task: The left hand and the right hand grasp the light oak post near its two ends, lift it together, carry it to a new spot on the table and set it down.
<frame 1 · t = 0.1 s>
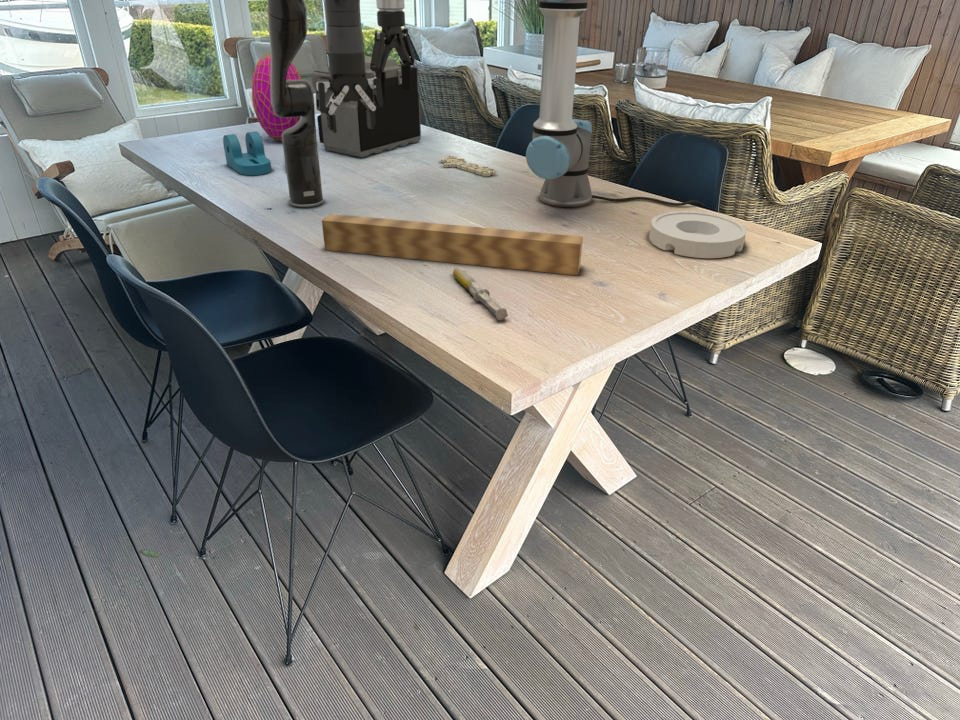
left hand: (352, 130, 150), 29 cm above the table, tool pointing down, fingers open, 8 cm apart
right hand: (394, 93, 197), 28 cm above the table, tool pointing down, fingers open, 13 cm apart
ashtray: (695, 241, 175), on the table
decorative egg: (284, 140, 265), on the table
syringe: (478, 297, 145), on the table
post: (449, 258, 163), on the table
camera mount: (251, 168, 229), on the table
decorative sign: (465, 168, 233), on the table
cooler box: (371, 146, 258), on the table
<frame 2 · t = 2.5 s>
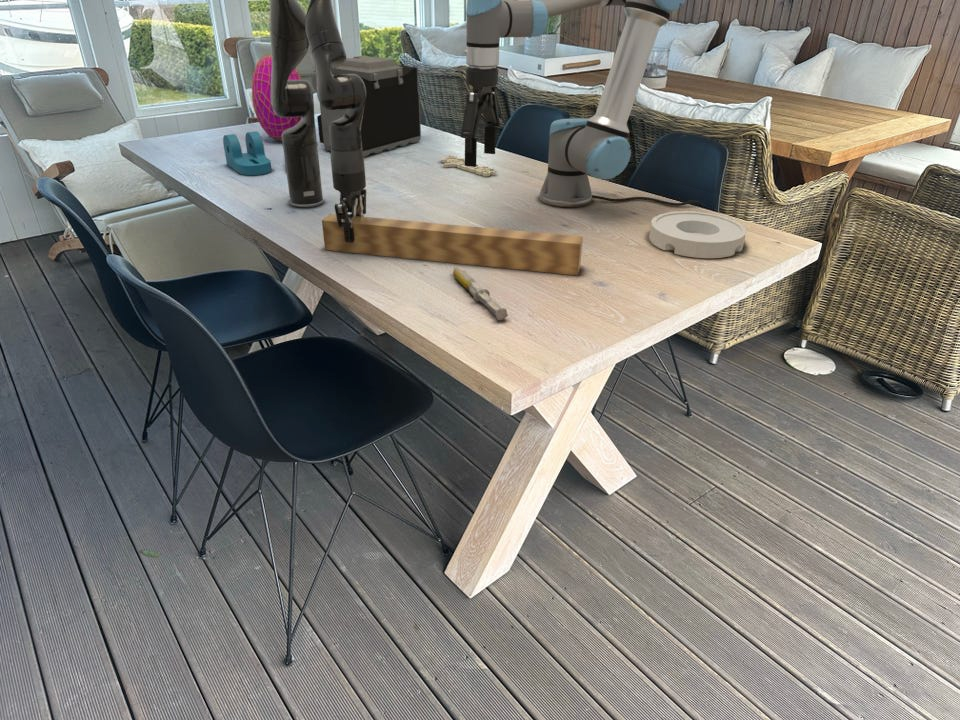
left hand: (354, 237, 166), 3 cm above the table, tool pointing down, fingers closed on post, 5 cm apart
right hand: (480, 159, 169), 19 cm above the table, tool pointing down, fingers open, 13 cm apart
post: (449, 258, 163), on the table, touching left hand
everything else where it was.
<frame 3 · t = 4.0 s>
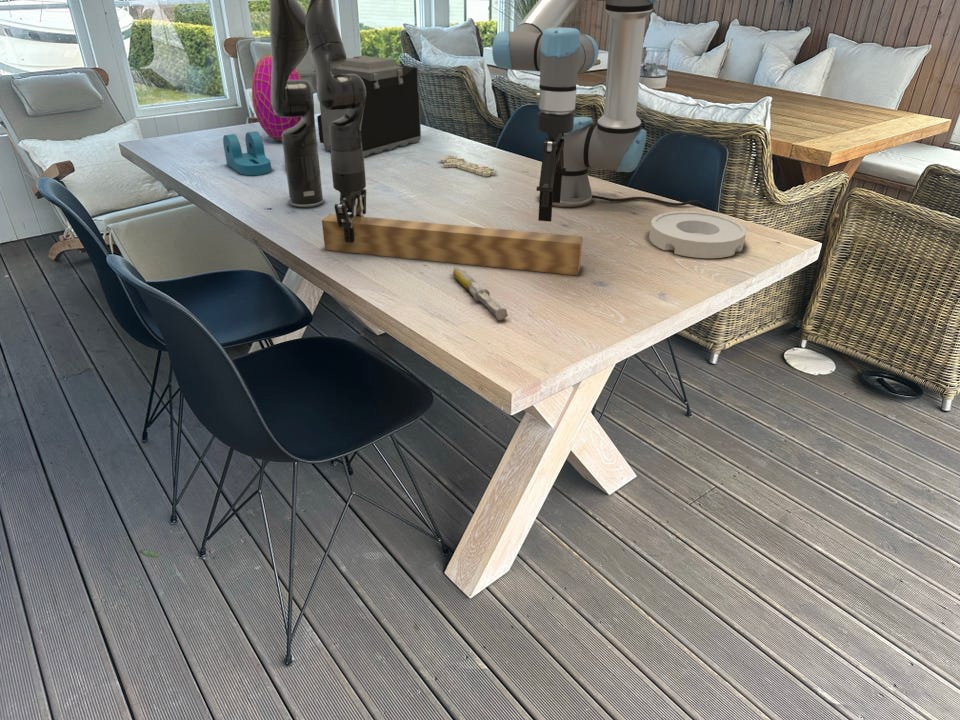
left hand: (354, 237, 166), 3 cm above the table, tool pointing down, fingers closed on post, 5 cm apart
right hand: (549, 211, 152), 13 cm above the table, tool pointing down, fingers open, 13 cm apart
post: (449, 258, 163), on the table, touching left hand
everything else where it was.
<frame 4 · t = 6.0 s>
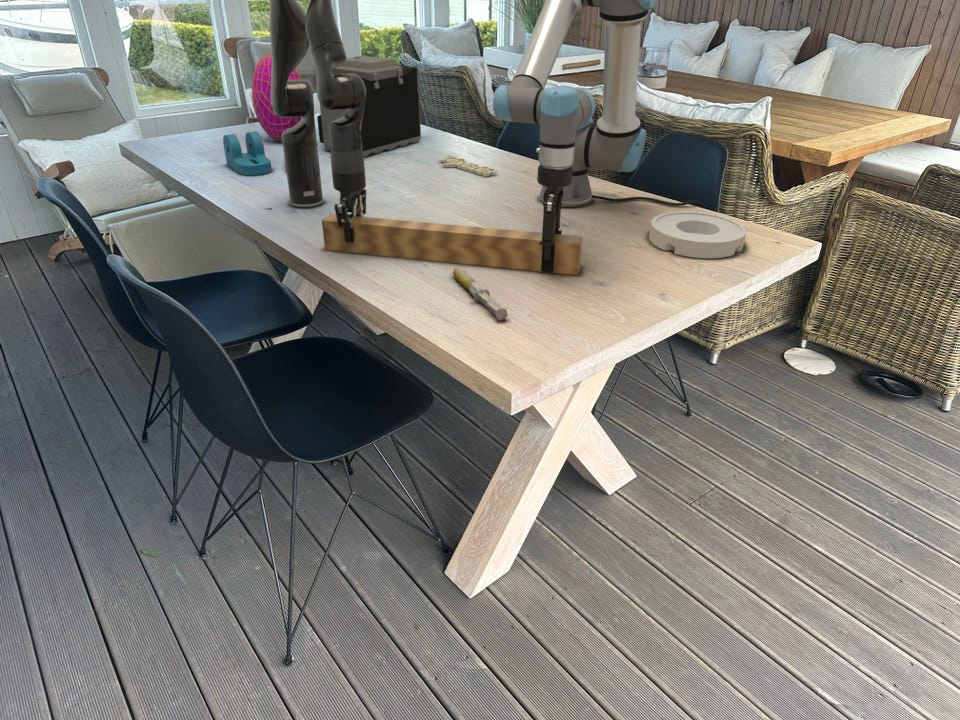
left hand: (354, 237, 166), 3 cm above the table, tool pointing down, fingers closed on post, 5 cm apart
right hand: (548, 266, 159), 1 cm above the table, tool pointing down, fingers closed on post, 5 cm apart
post: (449, 258, 163), on the table, touching right hand, left hand
everything else where it was.
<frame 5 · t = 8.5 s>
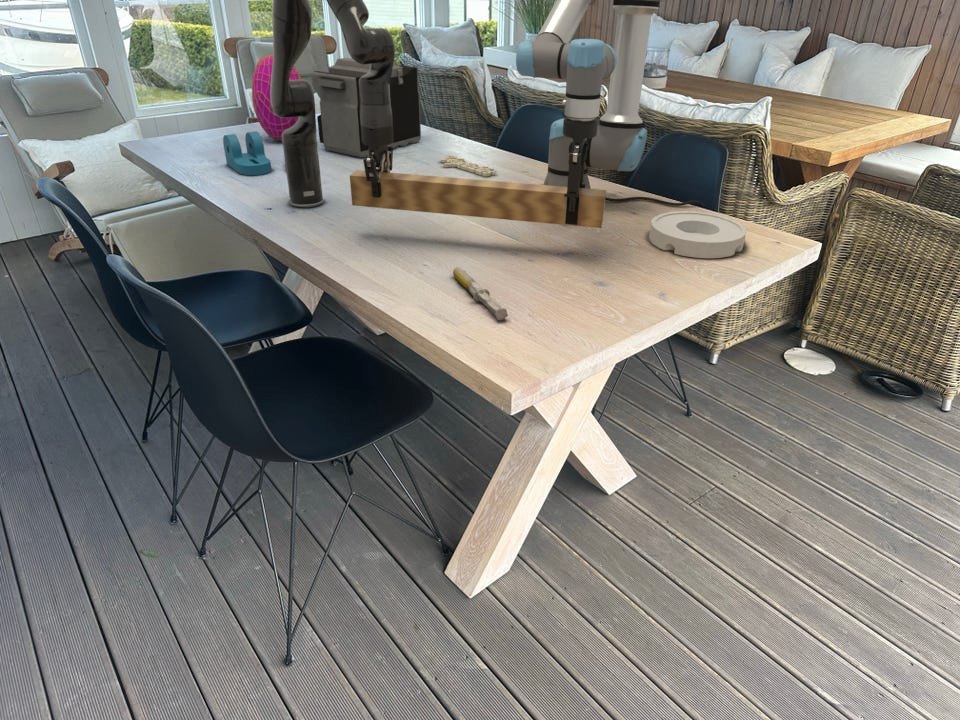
left hand: (381, 193, 170), 11 cm above the table, tool pointing down, fingers closed on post, 5 cm apart
right hand: (572, 219, 162), 9 cm above the table, tool pointing down, fingers closed on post, 5 cm apart
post: (474, 213, 167), point 8 cm above the table, touching right hand, left hand
everything else where it was.
when the right hand's fingers open (2 cm above the table, at t = 11.1 s): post moves 1 cm, on the table.
when the left hand's fingers open (4 cm above the table, at t = 11.2 s): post stays where it is, on the table.
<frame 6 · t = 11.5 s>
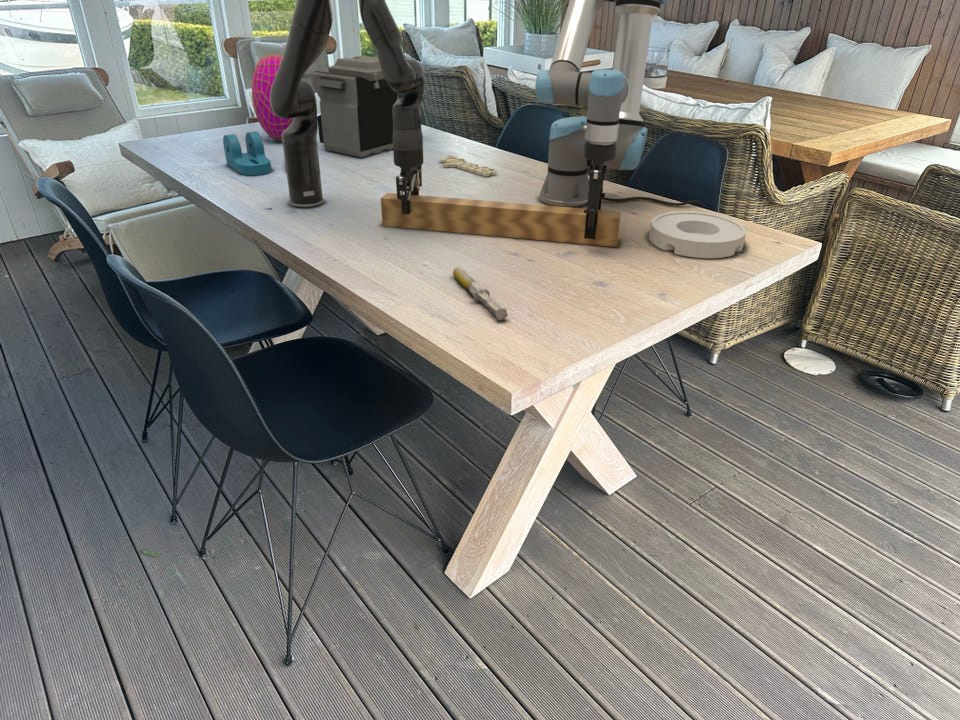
left hand: (410, 209, 181), 4 cm above the table, tool pointing down, fingers open, 7 cm apart
right hand: (591, 230, 172), 3 cm above the table, tool pointing down, fingers open, 11 cm apart
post: (497, 232, 179), on the table
everything else where it was.
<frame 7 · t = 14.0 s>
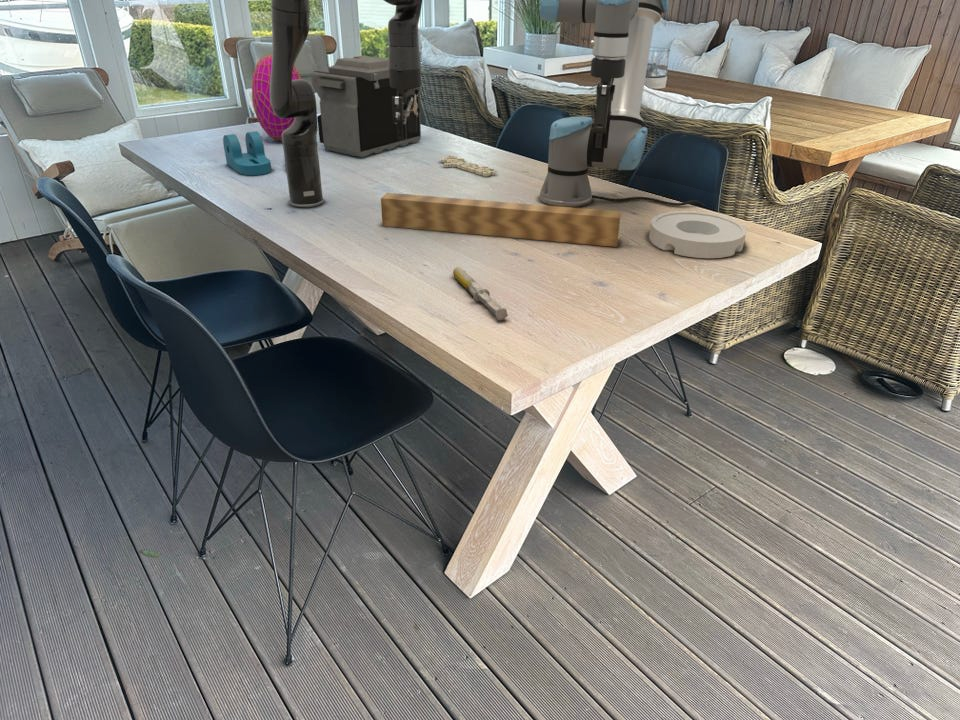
left hand: (407, 136, 171), 23 cm above the table, tool pointing down, fingers open, 8 cm apart
right hand: (599, 154, 163), 22 cm above the table, tool pointing down, fingers open, 13 cm apart
nothing on the table moved.
at the end: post inside the target area (0.3 cm from its centre), on the table; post tilted 0°; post never tilted more than 2° during the clip; both hands held the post at the same time; the left hand is holding nothing; the right hand is holding nothing; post at rest at the end (0.0 cm/s) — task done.
